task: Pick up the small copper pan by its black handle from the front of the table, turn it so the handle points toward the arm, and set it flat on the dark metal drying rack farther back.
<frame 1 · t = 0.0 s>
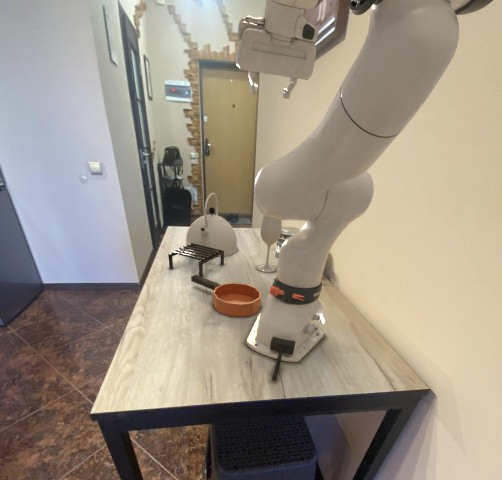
hand: (269, 95, 78), 52 cm above the table, tool tilted 20°, fingers open, 8 cm apart
wineglass: (266, 269, 113), on the table
pan: (236, 305, 86), on the table
kettle: (211, 249, 128), on the table
rack: (197, 266, 109), on the table
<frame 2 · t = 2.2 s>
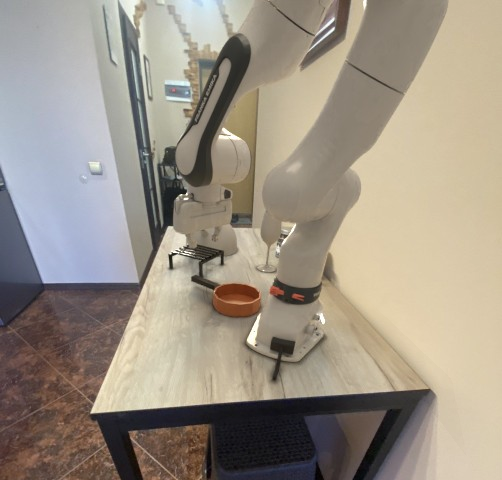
hand: (204, 244, 84), 15 cm above the table, tool pointing down, fingers open, 8 cm apart
nothing on the table moved.
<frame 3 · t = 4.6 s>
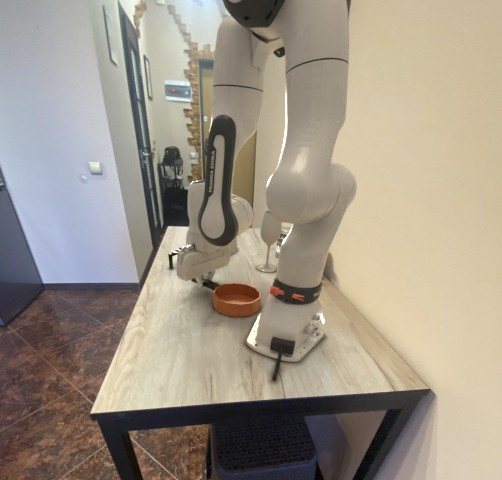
hand: (205, 285, 91), 2 cm above the table, tool pointing down, fingers closed on pan, 2 cm apart
pan: (236, 305, 86), on the table, touching gripper
everything else where it was.
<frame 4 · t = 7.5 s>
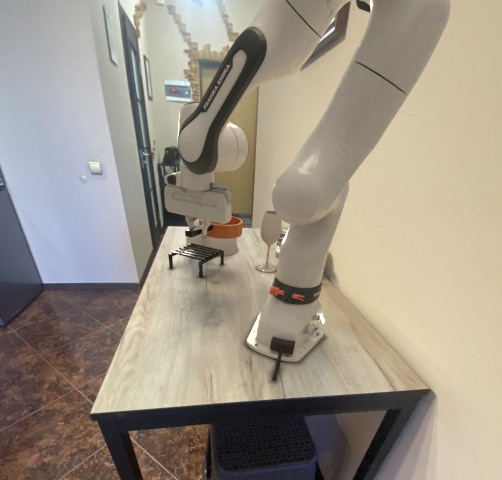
hand: (198, 233, 83), 18 cm above the table, tool pointing down, fingers closed on pan, 2 cm apart
pan: (220, 232, 95), point 15 cm above the table, touching gripper
everything else where it was.
when the fingers open (8 cm above the table, at t = 10.7 s): pan stays where it is, resting on rack.
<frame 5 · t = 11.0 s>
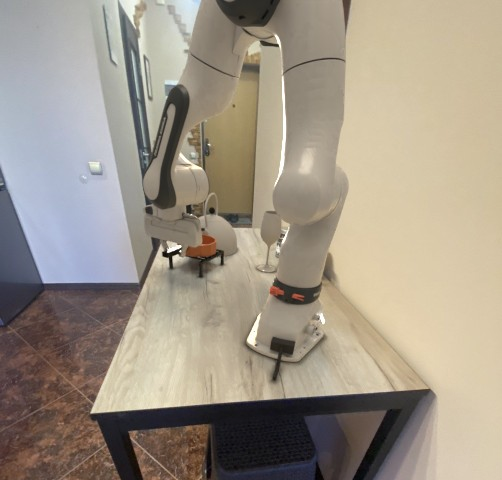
hand: (174, 254, 95), 8 cm above the table, tool pointing down, fingers open, 5 cm apart
pan: (197, 250, 106), point 6 cm above the table, touching rack
everything else where it was.
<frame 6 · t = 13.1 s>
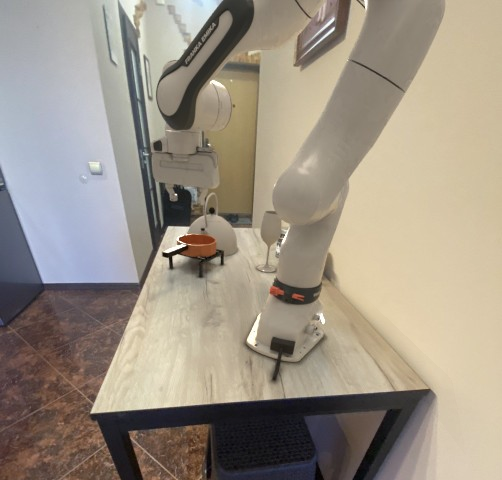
hand: (187, 202, 83), 25 cm above the table, tool pointing down, fingers open, 8 cm apart
nothing on the table moved.
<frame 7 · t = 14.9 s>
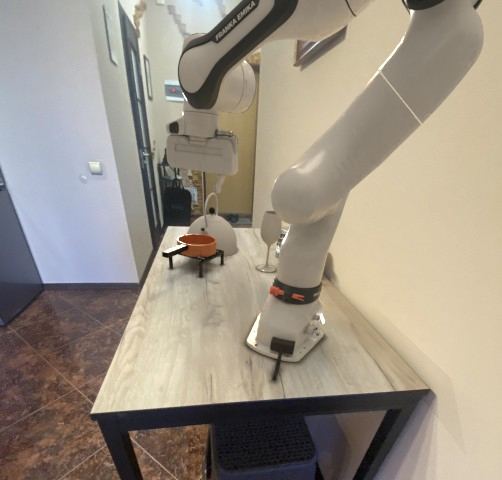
hand: (202, 190, 78), 29 cm above the table, tool pointing down, fingers open, 8 cm apart
nothing on the table moved.
at the end: pan inside the target area on the rack (0.2 cm from its centre), point 6.1 cm above the rack's base; pan tilted 0°; the gripper is holding nothing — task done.
